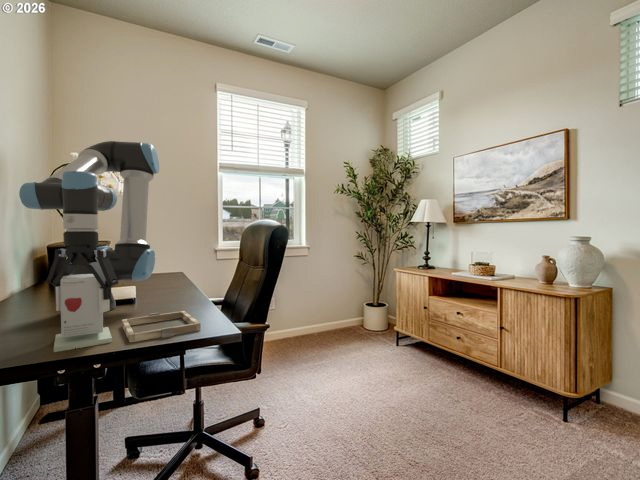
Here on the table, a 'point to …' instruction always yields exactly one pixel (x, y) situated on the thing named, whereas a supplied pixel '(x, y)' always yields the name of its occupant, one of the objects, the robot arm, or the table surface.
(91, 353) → the table surface
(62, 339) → the coaster pad
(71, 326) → the supplement box
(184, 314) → the birch collar
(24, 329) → the table surface
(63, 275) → the robot arm
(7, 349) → the table surface
